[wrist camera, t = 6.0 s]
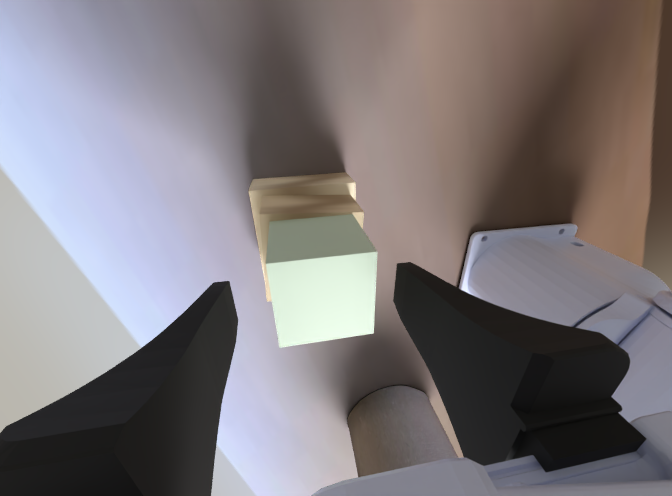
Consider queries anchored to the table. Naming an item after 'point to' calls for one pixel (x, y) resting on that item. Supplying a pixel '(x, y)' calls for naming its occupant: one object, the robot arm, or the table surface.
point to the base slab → (296, 191)
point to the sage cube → (321, 279)
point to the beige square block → (302, 213)
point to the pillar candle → (396, 431)
